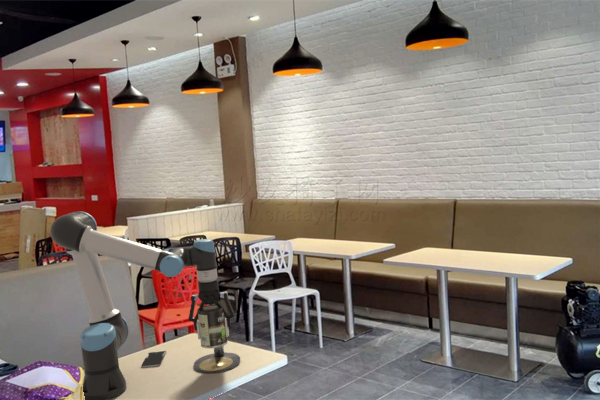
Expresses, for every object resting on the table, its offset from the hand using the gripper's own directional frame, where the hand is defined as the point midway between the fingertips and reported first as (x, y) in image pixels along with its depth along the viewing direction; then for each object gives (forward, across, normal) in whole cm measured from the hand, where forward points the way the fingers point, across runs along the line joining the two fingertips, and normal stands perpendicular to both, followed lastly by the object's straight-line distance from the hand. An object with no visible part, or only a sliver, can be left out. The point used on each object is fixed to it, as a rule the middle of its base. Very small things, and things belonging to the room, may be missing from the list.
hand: (213, 336), depth 210 cm
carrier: (+12, 0, +3) cm, 12 cm away
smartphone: (+12, -27, +13) cm, 33 cm away
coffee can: (+3, 0, 0) cm, 3 cm away
